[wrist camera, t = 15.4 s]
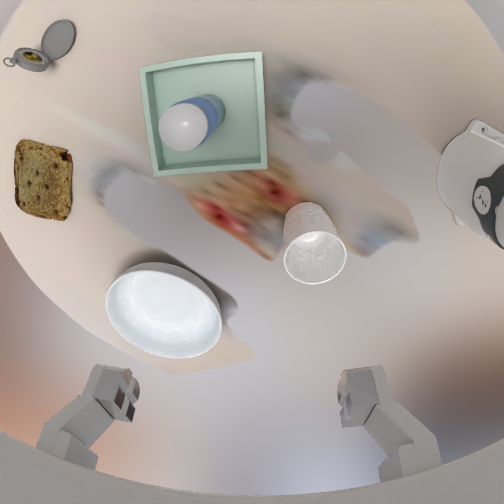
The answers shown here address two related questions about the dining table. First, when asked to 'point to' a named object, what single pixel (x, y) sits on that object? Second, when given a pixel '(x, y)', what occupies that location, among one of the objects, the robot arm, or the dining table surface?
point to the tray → (235, 122)
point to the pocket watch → (46, 47)
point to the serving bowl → (164, 310)
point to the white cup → (311, 245)
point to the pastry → (42, 180)
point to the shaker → (191, 121)
